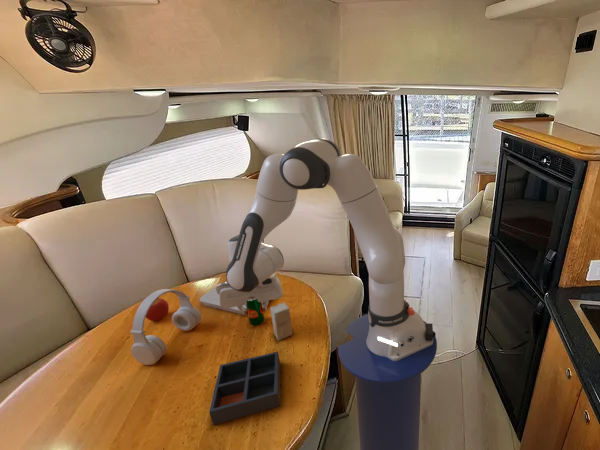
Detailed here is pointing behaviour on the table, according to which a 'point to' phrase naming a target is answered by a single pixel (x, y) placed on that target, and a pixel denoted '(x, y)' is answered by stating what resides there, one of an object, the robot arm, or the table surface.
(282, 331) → the box
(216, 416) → the grid
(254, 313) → the soda can
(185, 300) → the headphones
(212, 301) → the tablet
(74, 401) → the table surface
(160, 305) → the apple
